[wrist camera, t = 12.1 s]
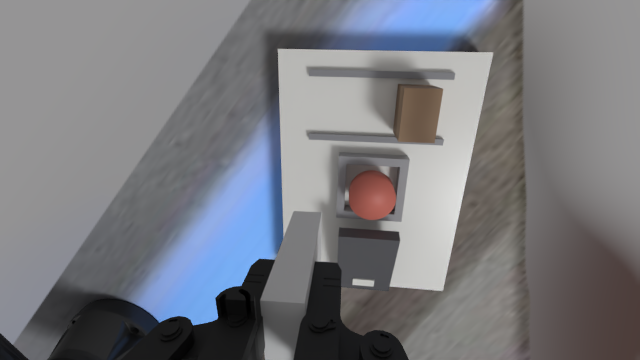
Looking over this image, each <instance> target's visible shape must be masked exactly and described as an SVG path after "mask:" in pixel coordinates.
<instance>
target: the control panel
mask: <svg viewBox="0 0 640 360" xmlns="http://www.w3.org/2000/svg"><path fill="white" fill-rule="evenodd" d="M492 56H493V52H434V51H374V50H314V49H278V71H279V104H280V137H281V170H282V203H283V235H285V233H286V230H287V227H288V225H289V222H290V220H291V217H292V214H293V212H294V211H305V212H322V244H321V262H335V263H337V262H338V235H339V227H341V228H355V229H369V230H383V231H397V232H399V236H400V244H399V248H398V252H397V257H396V261H395V265H394V269H393V274H392V278H391V282H390V286H392V287H403V288H415V289H426V290H437V291H443V288H444V283H445V278H446V273H447V269H448V264H449V259H450V255H451V250H452V245H453V240H454V236H455V231H456V226H457V221H458V217H459V212H460V207H461V203H462V198H463V193H464V188H465V184H466V179H467V174H468V169H469V165H470V160H471V155H472V151H473V146H474V141H475V136H476V132H477V127H478V122H479V117H480V113H481V108H482V103H483V99H484V94H485V89H486V84H487V80H488V75H489V70H490V65H491V61H492ZM398 84H415V85H433V86H436V87H439V88H442V89H443V95H442V101H441V107H440V113H439V120H438V126H437V132H436V138H435V143H416V142H398V140H397V138H396V136H395V134H394V133H393V126H394V117H395V108H396V98H397V89H398ZM368 170H375V171H379V172H382V173H384V174H385V175H387V176H388V177H389V179H390V180H391V182H392V184H393V187H394V191H395V194H396V203H395V206H394V208H393V210H392V211H391V212H390V213H389V214H388V215H387V216H385V217H383V218H380V219H377V220H368V219H364V218H361V217H359V216H358V215H356V214H355V213H354V212H353V210H352V209H351V207H350V204H349V187H350V184H351V182H352V180H353V179H354V177H356V176H357V175H358V174H360V173H361V172H364V171H368Z"/></svg>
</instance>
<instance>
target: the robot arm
mask: <svg viewBox="0 0 640 360" xmlns="http://www.w3.org/2000/svg"><path fill="white" fill-rule="evenodd" d="M321 244H322V212H305V211H294V212H293V214H292V217H291V220H290V222H289V225H288V227H287V230H286V233H285V235H284V238H283V241H282V243H281V246H280V249H279V251H278V254H277V257H276V259H275V260H269V259H259V260H257V261H256V262H255V263H254V264H253V265H252V266H251V267H250V269H249V272H248V274H247V276H246V278H245V280H244V282H243V284H242V286H238V287H232V288H228V289H226V290H224V291H223V292H221V293H220V294H219V295H218V296H217V297H216V298H215V299H216V305H217V312H218V319H217V320H215V321H213V322H209V323H204V324H199V325H194V326H193V325H192V323H191V320H189V319H188V318H186V317H180V316H177V317H172V318H169V319H166V320H164V321H162V322H161V323H158V322H157V321H156V320H155V319H154V318H153V317H152V316H151V315H149V314H148V313H147V312H145V311H144V310H142V309H140V308H139V307H137V306H134V305H132V304H130V303H127V302H124V301H119V300H113V299H103V300H97V301H94V302H92V303H90V304H88V305H87V306H86V307H84V308H83V309H82V310H81V311H80V312H79V313H78V314H77V315H76V316H75V317H74V318H73V319H72V320H71V322H70V324H69V325H68V328H67V330H66V331H65V333H64V334H63V336H62V337H61V339H60V340H59V342H58V344H57V345H56V347H55V348H54V350H53V352H52V353H51V355H50V357H49V358H48V359H47V360H261V359H262V356H263V353H264V351H265V359H266V360H409V359H408V357H407V355H406V353H405V351H404V349H403V346H402V345H401V343H400V342H399V340H398V339H397V338H396V337H395V336H393V335H392V334H391V333H388V332H385V331H380V330H374V331H371V332H368V333H366V334H365V335H364V336H362V335H359V334H357V333H355V332H352V331H350V330H349V329H348V328H347V327H346V326H345V325H344V324H343V323H342V320H341V317H340V304H341V275H342V270H341V268H340V267H339V265H338V263H335V262H321ZM0 360H29V359H28V358H26V357H25V356H24V355H23V354H22V353H21V352H20V351H19V350H18V349H17V348H15V347H14V346H13V345H12V344H11V343H10V342H9V341H8V340H7V339H6V338H5V337H4V336H2V335H1V334H0Z"/></svg>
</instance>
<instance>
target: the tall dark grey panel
mask: <svg viewBox="0 0 640 360" xmlns="http://www.w3.org/2000/svg"><path fill="white" fill-rule="evenodd" d="M399 244H400V236H399V232H397V231H383V230H369V229H355V228H341V227H339V235H338V262H337V263H338V265H339V267H340V268H341V270H342V275H341V287H347V288H358V289H369V290H380V291H389V286H390V282H391V278H392V274H393V269H394V265H395V261H396V257H397V252H398V248H399Z"/></svg>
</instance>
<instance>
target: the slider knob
mask: <svg viewBox="0 0 640 360" xmlns="http://www.w3.org/2000/svg"><path fill="white" fill-rule="evenodd" d="M442 95H443V89H442V88H439V87H436V86H433V85H415V84H398V89H397V98H396V108H395V117H394V126H393V133H394V134H395V136H396V138H397V140H398V142H416V143H435V138H436V132H437V126H438V120H439V113H440V107H441V101H442Z"/></svg>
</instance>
